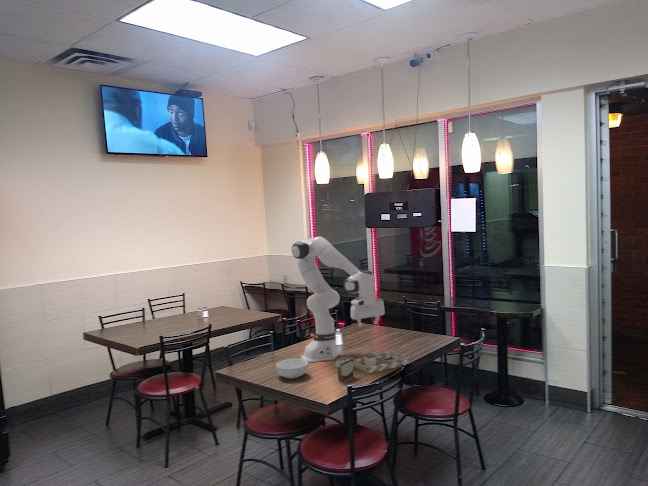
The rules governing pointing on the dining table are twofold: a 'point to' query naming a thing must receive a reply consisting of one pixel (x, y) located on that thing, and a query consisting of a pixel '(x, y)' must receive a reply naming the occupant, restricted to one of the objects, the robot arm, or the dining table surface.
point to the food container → (345, 368)
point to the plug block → (370, 359)
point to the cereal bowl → (292, 368)
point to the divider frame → (382, 362)
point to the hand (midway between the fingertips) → (368, 325)
